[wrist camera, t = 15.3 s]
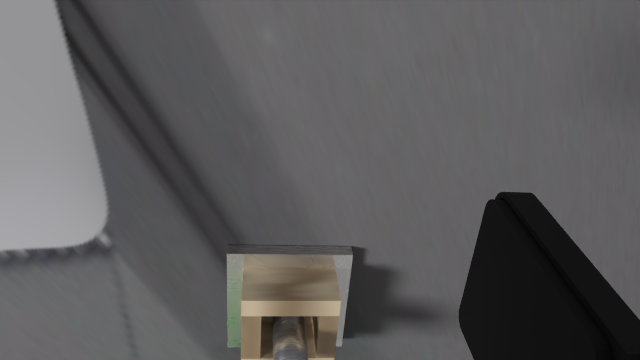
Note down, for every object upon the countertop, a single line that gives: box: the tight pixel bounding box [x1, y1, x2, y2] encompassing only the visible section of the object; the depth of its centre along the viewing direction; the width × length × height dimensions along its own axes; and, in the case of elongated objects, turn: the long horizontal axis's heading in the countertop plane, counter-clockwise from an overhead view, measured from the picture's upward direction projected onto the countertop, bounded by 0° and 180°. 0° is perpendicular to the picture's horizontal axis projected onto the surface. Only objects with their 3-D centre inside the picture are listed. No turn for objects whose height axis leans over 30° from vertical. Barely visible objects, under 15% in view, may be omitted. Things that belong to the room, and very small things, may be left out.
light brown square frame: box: [241, 267, 341, 360], centre depth 44 cm, size 7×7×4 cm
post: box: [227, 245, 353, 360], centre depth 42 cm, size 10×10×12 cm
